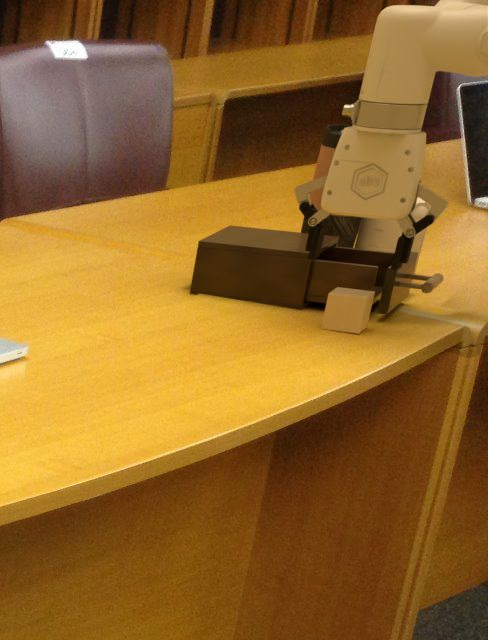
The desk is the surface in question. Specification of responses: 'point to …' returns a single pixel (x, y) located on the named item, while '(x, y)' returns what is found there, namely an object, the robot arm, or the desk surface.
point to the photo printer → (390, 232)
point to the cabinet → (255, 266)
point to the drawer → (366, 276)
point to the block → (347, 310)
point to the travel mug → (334, 223)
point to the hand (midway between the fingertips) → (354, 263)
